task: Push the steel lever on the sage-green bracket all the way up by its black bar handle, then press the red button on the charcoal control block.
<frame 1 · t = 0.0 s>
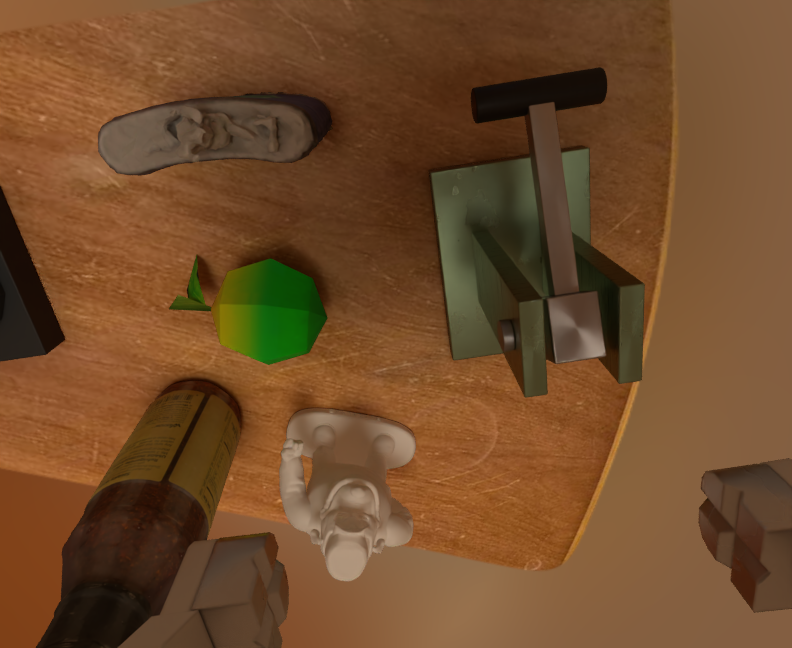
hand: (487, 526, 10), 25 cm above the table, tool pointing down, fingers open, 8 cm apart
sauce bottle: (203, 414, 38), on the table
apple: (260, 294, 35), on the table
figurine: (353, 429, 39), on the table
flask: (251, 123, 31), on the table
bracket: (511, 256, 34), on the table
lever: (554, 219, 24), point 9 cm above the table, hinge at -20.0°
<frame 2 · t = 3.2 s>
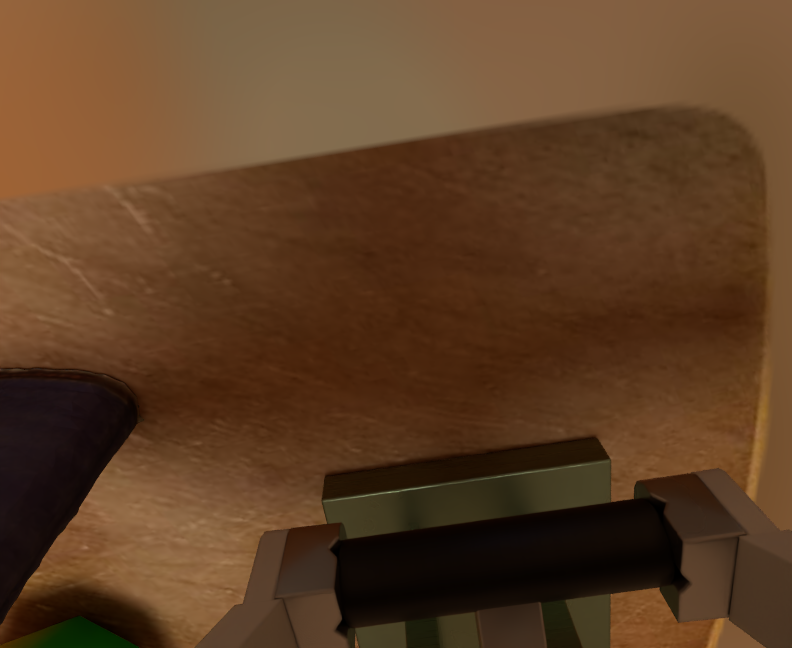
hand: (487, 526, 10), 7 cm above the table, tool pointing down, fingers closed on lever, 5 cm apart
apple: (58, 641, 21), on the table
bracket: (476, 588, 20), on the table
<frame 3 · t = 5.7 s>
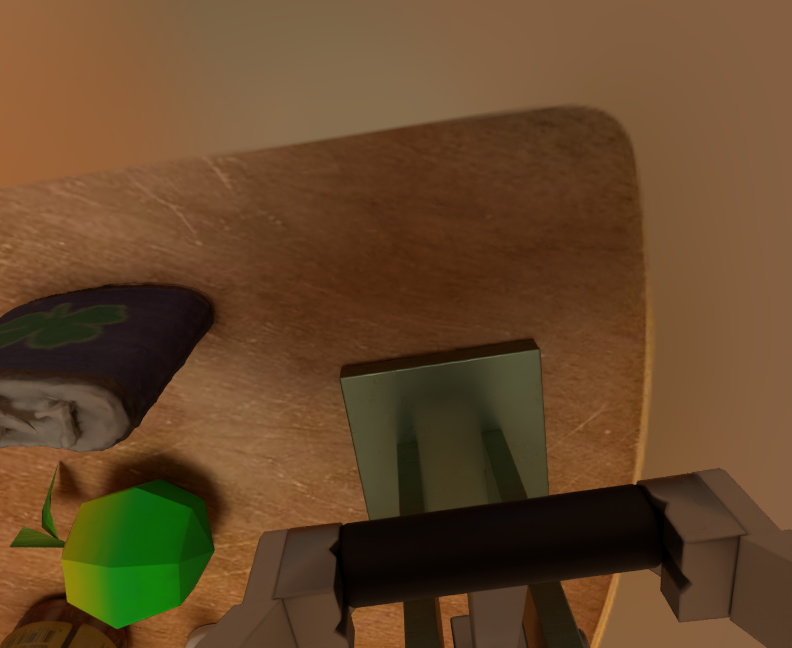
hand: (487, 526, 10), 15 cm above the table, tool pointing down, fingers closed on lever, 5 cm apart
sauce bottle: (83, 629, 31), on the table
apple: (142, 501, 28), on the table
figurine: (268, 644, 32), on the table
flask: (116, 315, 25), on the table
bracket: (451, 460, 28), on the table
lever: (493, 625, 14), point 13 cm above the table, hinge at 26.0°, touching gripper
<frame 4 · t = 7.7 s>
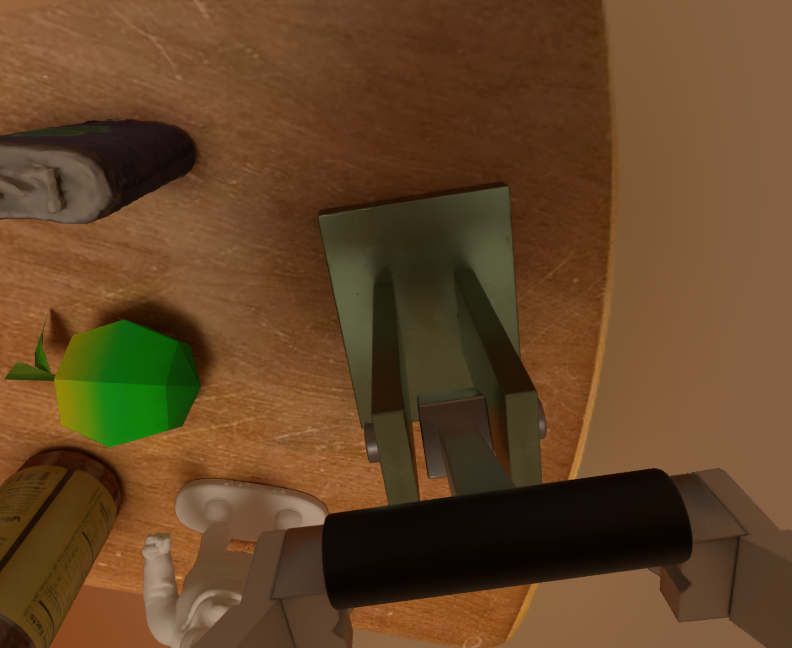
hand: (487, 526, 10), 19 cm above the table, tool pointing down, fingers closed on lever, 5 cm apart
sauce bottle: (79, 485, 33), on the table
apple: (131, 352, 30), on the table
figurine: (255, 501, 34), on the table
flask: (100, 155, 26), on the table
bracket: (426, 309, 29), on the table
lever: (467, 461, 14), point 15 cm above the table, hinge at 65.1°, touching gripper
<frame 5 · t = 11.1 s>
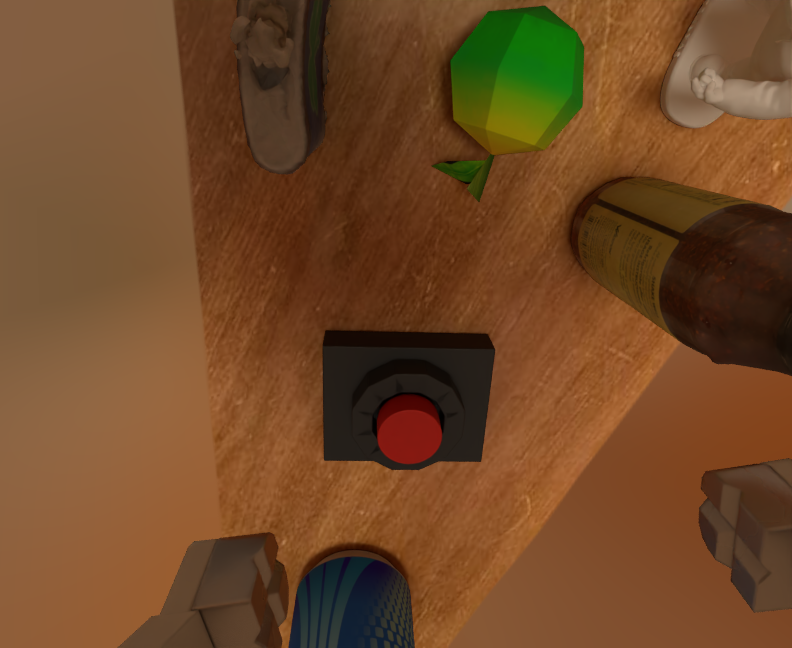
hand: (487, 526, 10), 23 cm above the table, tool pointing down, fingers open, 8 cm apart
sauce bottle: (620, 224, 32), on the table
apple: (495, 107, 29), on the table
button: (408, 428, 31), point 4 cm above the table, slide at 0.1 cm
figurine: (717, 32, 28), on the table
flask: (303, 55, 28), on the table
beer can: (354, 581, 42), on the table
control block: (404, 388, 35), on the table
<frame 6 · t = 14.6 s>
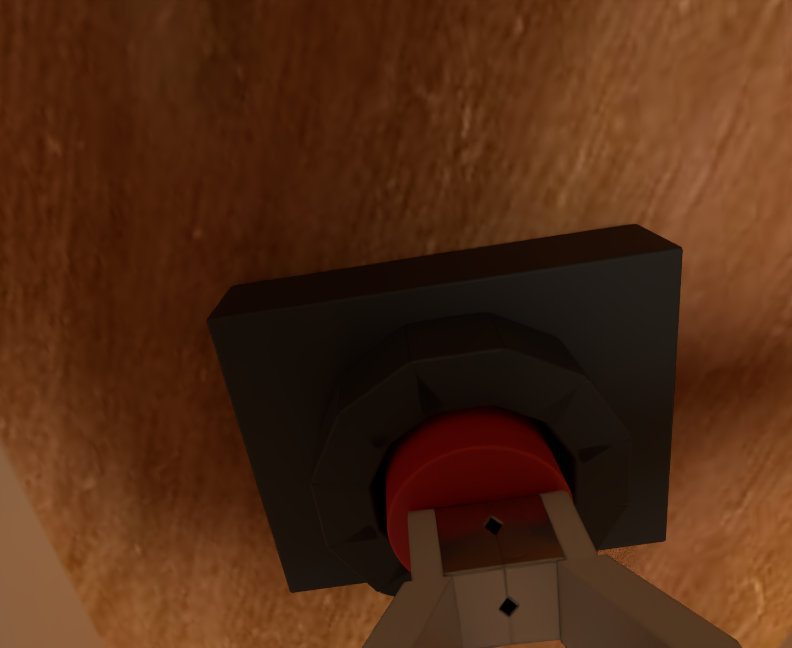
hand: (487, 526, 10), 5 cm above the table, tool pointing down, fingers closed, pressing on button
button: (473, 494, 11), point 4 cm above the table, slide at -0.4 cm, touching gripper
control block: (449, 395, 15), on the table
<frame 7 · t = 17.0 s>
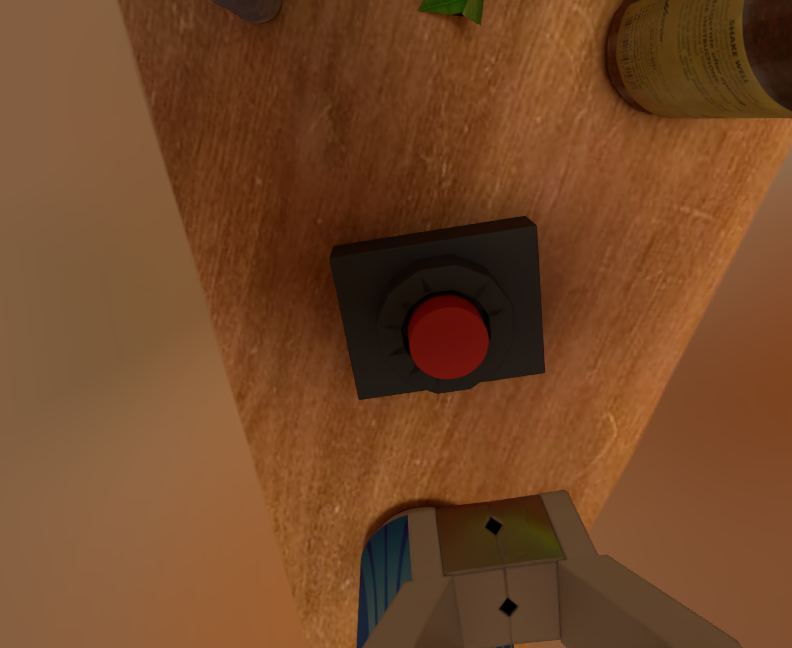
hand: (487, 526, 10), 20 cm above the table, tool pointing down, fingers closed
sauce bottle: (667, 40, 25), on the table
button: (447, 336, 26), point 4 cm above the table, slide at 0.1 cm
beer can: (425, 545, 37), on the table
control block: (438, 302, 30), on the table
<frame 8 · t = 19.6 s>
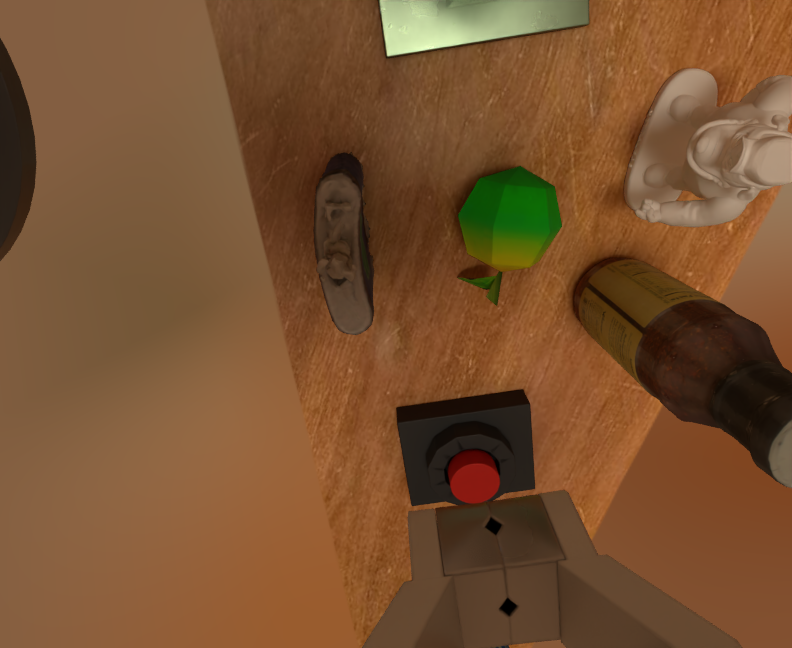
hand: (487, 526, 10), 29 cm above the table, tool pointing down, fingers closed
sauce bottle: (612, 291, 40), on the table
apple: (497, 227, 38), on the table
button: (473, 476, 40), point 4 cm above the table, slide at 0.1 cm
figurine: (659, 142, 36), on the table
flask: (349, 221, 38), on the table
control block: (464, 440, 45), on the table
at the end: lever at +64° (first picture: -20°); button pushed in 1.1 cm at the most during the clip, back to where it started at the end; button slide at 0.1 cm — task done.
